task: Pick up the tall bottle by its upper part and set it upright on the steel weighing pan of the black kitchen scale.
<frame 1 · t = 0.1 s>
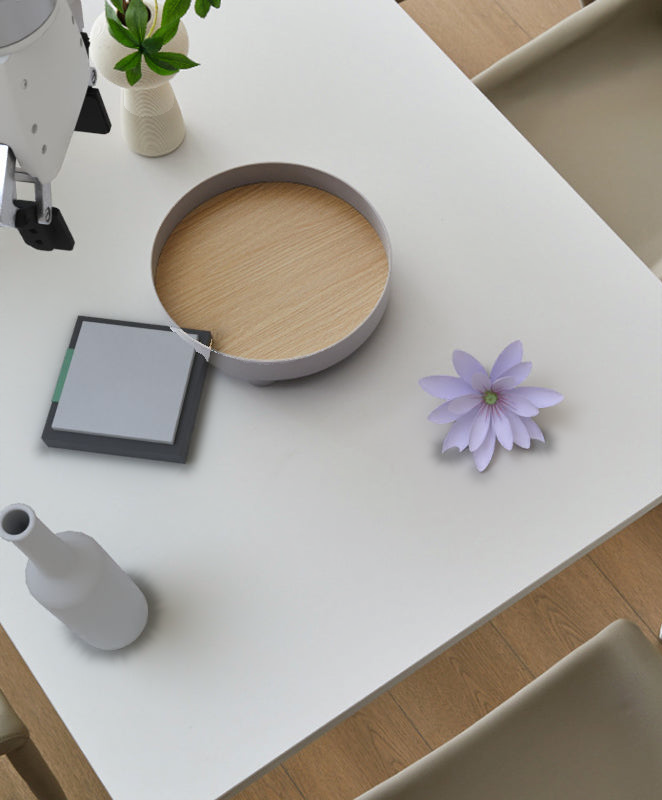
hand: (71, 185, 69), 38 cm above the table, tool pointing down, fingers open, 9 cm apart
bottle: (114, 616, 95), on the table
scale: (133, 394, 105), on the table
water lily: (482, 428, 104), on the table
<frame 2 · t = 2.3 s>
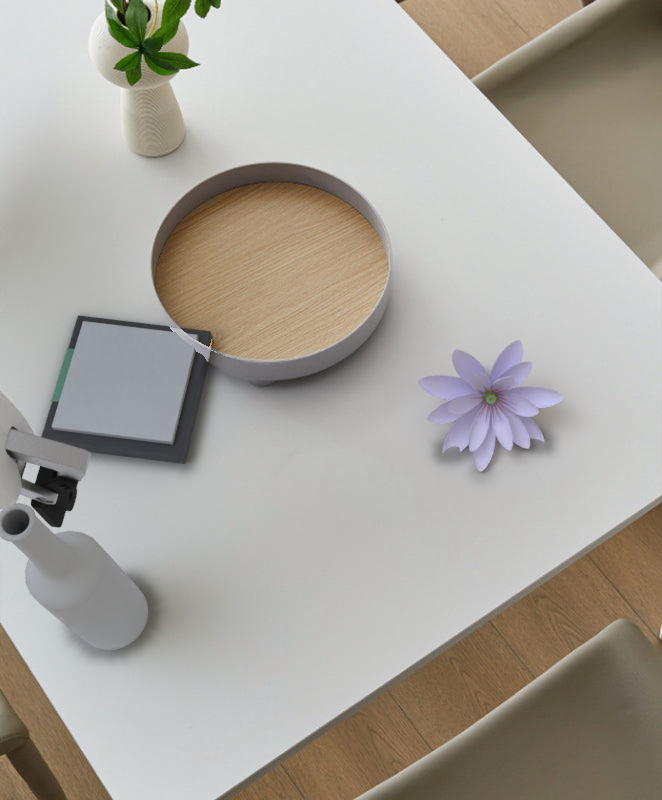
nothing on the table moved.
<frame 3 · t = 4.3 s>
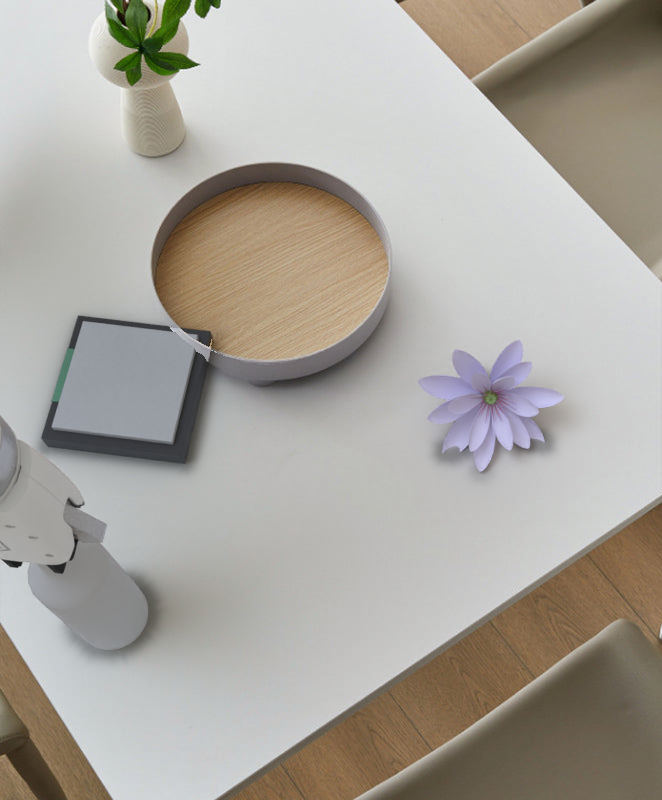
hand: (42, 550, 74), 23 cm above the table, tool pointing down, fingers closed on bottle, 2 cm apart
bottle: (114, 616, 95), on the table, touching gripper
everything else where it was.
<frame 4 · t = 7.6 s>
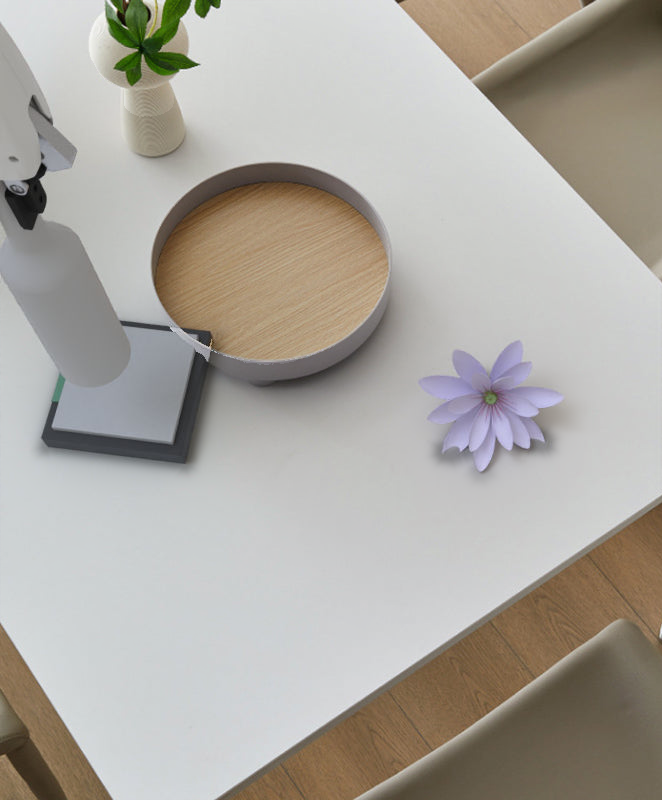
hand: (10, 208, 70), 37 cm above the table, tool pointing down, fingers closed on bottle, 2 cm apart
bottle: (94, 355, 91), point 14 cm above the table, touching gripper
everything else where it was.
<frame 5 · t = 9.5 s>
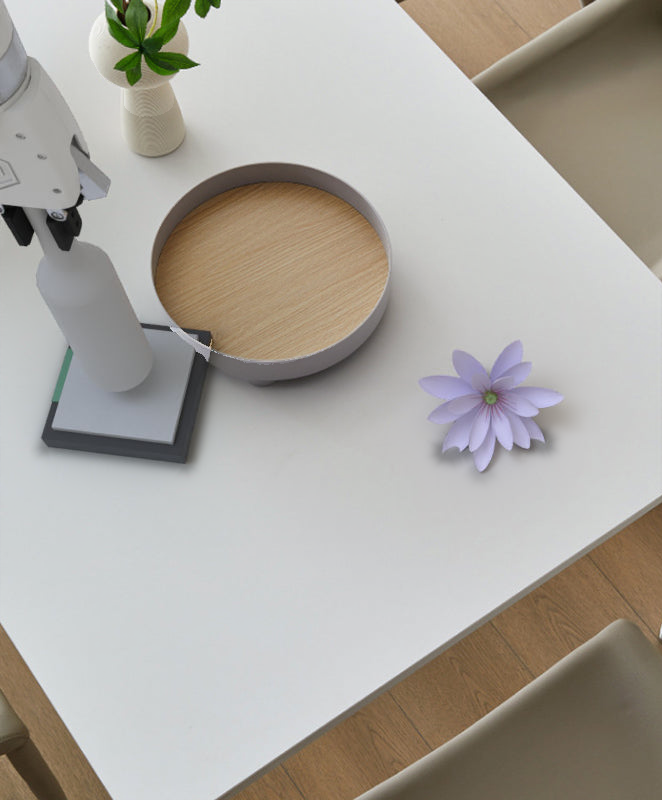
hand: (49, 232, 78), 29 cm above the table, tool pointing down, fingers closed on bottle, 2 cm apart
bottle: (119, 362, 99), point 6 cm above the table, touching gripper
everything else where it was.
when the fingers open (26 cm above the table, at t = 10.7 s): bottle stays where it is, resting on scale.
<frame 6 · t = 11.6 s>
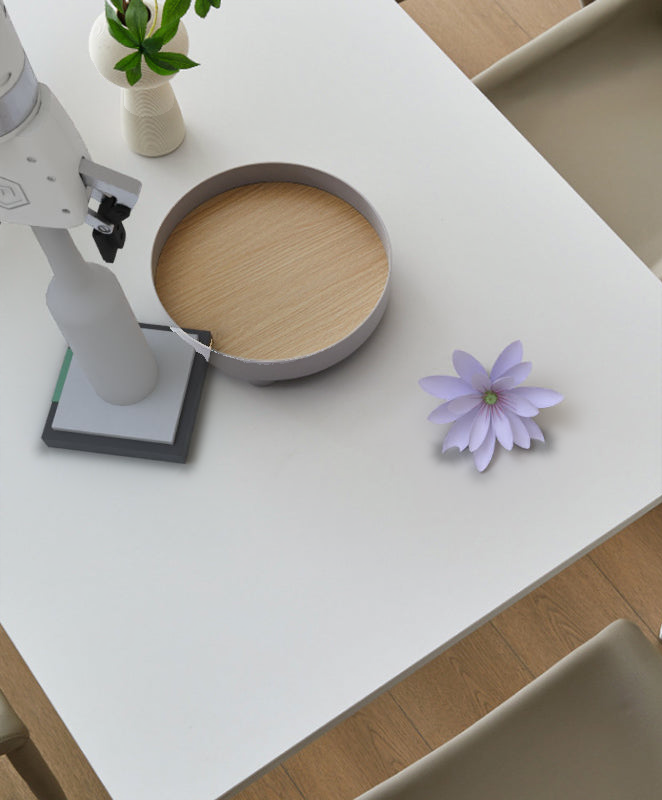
hand: (53, 240, 79), 28 cm above the table, tool pointing down, fingers open, 9 cm apart
bottle: (126, 376, 102), point 3 cm above the table, touching scale
everything else where it was.
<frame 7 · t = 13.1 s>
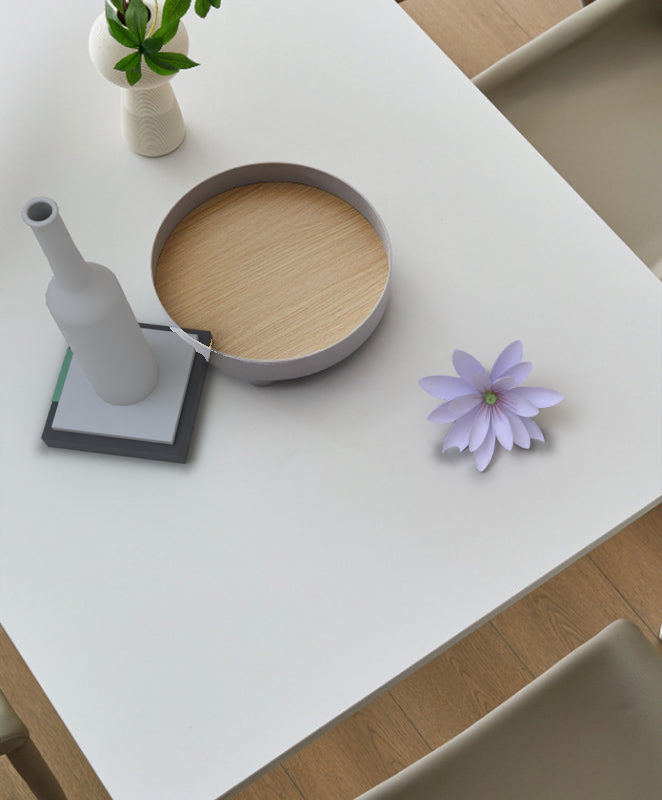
nothing on the table moved.
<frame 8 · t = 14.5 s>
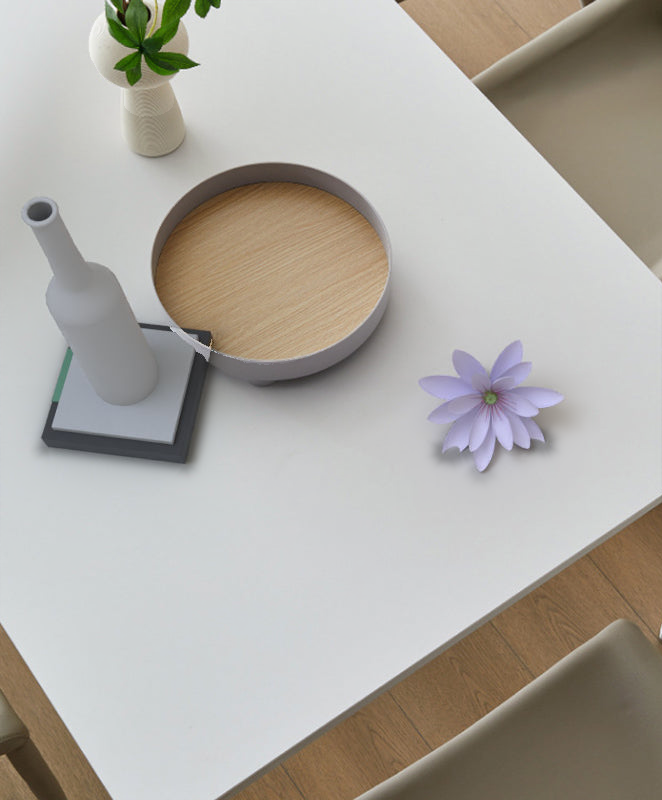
nothing on the table moved.
at the end: bottle inside the target area on the scale (0.4 cm from its centre), point 3.2 cm above the scale's base; bottle tilted 0°; the gripper is holding nothing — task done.
